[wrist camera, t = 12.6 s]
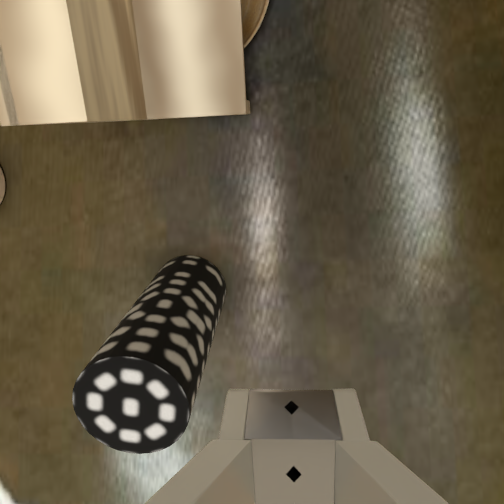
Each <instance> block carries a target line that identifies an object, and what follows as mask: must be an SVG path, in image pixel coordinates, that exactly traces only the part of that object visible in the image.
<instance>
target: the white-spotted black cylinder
mask: <svg viewBox="0 0 504 504" xmlns="http://www.w3.org/2000/svg"><path fill="white" fill-rule="evenodd" d="M225 296H226V285H225V281H224V278H223V276H222V274H221V273H220V271H219V270H218V269H217V268H216V267H215V266H214V265H213V264H212V263H210V262H209V261H207V260H205V259H203V258H201V257H196V256H187V255H186V256H180V257H177V258H174V259H172V260H170V261H169V262H167V263H166V264H165V265H164V266H163V267H162V268H161V270H160V271H159V272H158V274H157V275H156V276H155V277H154V279H153V280H152V281H151V283H150V284H149V285H148V287H147V288H146V289H145V290H144V292H143V293H142V294H141V296H140V297H139V298H138V300H137V301H136V302H135V304H134V305H133V306H132V307H131V309H130V310H129V311H128V313H127V314H126V315H125V317H124V318H123V319H122V320H121V322H120V323H119V324H118V326H117V327H116V328H115V330H114V331H113V332H112V333H111V335H110V336H109V337H108V339H107V340H106V341H105V343H104V344H103V345H102V347H101V348H100V349H99V350H98V352H97V353H96V354H95V356H94V357H93V358H92V360H91V361H90V362H89V363H88V365H87V366H86V367H85V369H84V370H83V371H82V373H81V374H80V376H79V377H78V379H77V380H76V383H75V385H74V388H73V397H72V400H73V406H74V410H75V413H76V415H77V418H78V419H79V421H80V422H81V424H82V426H83V427H84V428H85V429H86V430H87V431H88V432H89V433H90V434H91V435H92V436H93V437H94V438H96V439H97V440H98V441H100V442H102V443H103V444H105V445H107V446H109V447H111V448H114V449H116V450H119V451H124V452H128V453H138V454H142V453H152V452H156V451H160V450H162V449H165V448H167V447H169V446H171V445H172V444H173V443H175V442H176V441H177V440H178V439H179V438H180V437H181V436H182V434H183V433H184V431H185V429H186V427H187V425H188V422H189V418H190V415H191V412H192V408H193V405H194V401H195V398H196V395H197V391H198V388H199V385H200V381H201V378H202V374H203V371H204V368H205V364H206V361H207V357H208V354H209V351H210V347H211V344H212V341H213V337H214V334H215V330H216V327H217V324H218V320H219V317H220V313H221V310H222V307H223V303H224V300H225Z"/></svg>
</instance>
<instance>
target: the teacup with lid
mask: <svg viewBox="0 0 504 504" xmlns="http://www.w3.org/2000/svg"><path fill="white" fill-rule="evenodd" d="M4 194H5V179H4V175H3V172H2V169H1V167H0V204H1V202H2V200H3V197H4Z"/></svg>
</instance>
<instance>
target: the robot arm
mask: <svg viewBox="0 0 504 504" xmlns="http://www.w3.org/2000/svg"><path fill="white" fill-rule="evenodd" d="M145 504H449V503H448V502H446V501H445V500H444V499H443V498H442V497H441V496H439V495H438V494H437V493H436V492H435V491H434V490H433V489H431V488H430V487H429V486H428V485H427V484H426V483H424V482H423V481H422V480H421V479H420V478H419V477H418V476H416V475H415V474H414V473H413V472H412V471H411V470H409V469H408V468H407V467H406V466H405V465H404V464H403V463H401V462H400V461H399V460H398V459H397V458H396V457H394V456H393V455H392V454H391V453H390V452H389V451H388V450H386V449H385V448H384V447H383V446H382V445H381V444H379V443H378V442H377V441H370V439H369V436H368V432H367V429H366V425H365V422H364V418H363V415H362V411H361V408H360V404H359V401H358V397H357V394H356V391H355V390H354V389H353V388H352V389H332V390H280V389H250V390H249V389H229V390H228V392H227V396H226V401H225V407H224V412H223V417H222V423H221V428H220V433H219V439H218V440H211V441H210V442H209V443H208V444H207V445H206V446H205V447H204V448H203V449H202V450H201V451H200V452H199V453H197V454H196V455H195V456H194V457H193V458H192V459H191V460H190V461H189V462H188V463H187V464H186V465H185V466H184V467H183V468H182V469H181V470H180V471H179V472H177V473H176V474H175V475H174V476H173V477H172V478H171V479H170V480H169V481H168V482H167V483H166V484H165V485H164V486H163V487H162V488H161V489H160V490H159V491H158V492H156V493H155V494H154V495H153V496H152V497H151V498H150V499H149V500H148V501H147V502H146V503H145Z"/></svg>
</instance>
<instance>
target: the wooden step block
mask: <svg viewBox="0 0 504 504" xmlns="http://www.w3.org/2000/svg"><path fill="white" fill-rule="evenodd" d="M243 114H250V101H248V100H246V85H245V65H244V46H243V26H242V7H241V0H0V123H1V126H13V125H38V124H64V123H89V122H113V121H131V120H150V119H169V118H187V117H206V116H224V115H243Z"/></svg>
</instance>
